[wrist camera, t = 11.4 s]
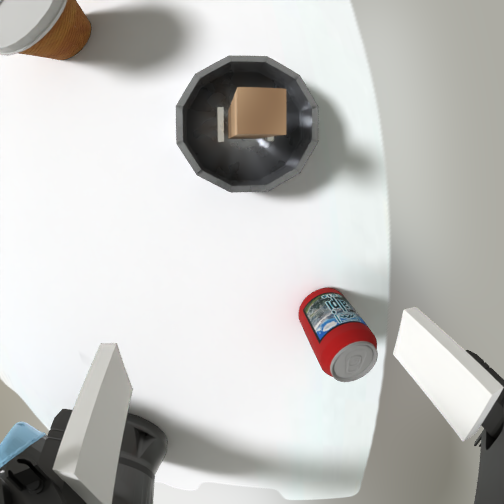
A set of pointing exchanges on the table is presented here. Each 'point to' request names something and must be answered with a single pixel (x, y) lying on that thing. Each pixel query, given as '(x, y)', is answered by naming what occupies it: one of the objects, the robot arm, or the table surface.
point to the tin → (244, 150)
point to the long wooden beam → (257, 113)
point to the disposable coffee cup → (43, 28)
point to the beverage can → (338, 335)
